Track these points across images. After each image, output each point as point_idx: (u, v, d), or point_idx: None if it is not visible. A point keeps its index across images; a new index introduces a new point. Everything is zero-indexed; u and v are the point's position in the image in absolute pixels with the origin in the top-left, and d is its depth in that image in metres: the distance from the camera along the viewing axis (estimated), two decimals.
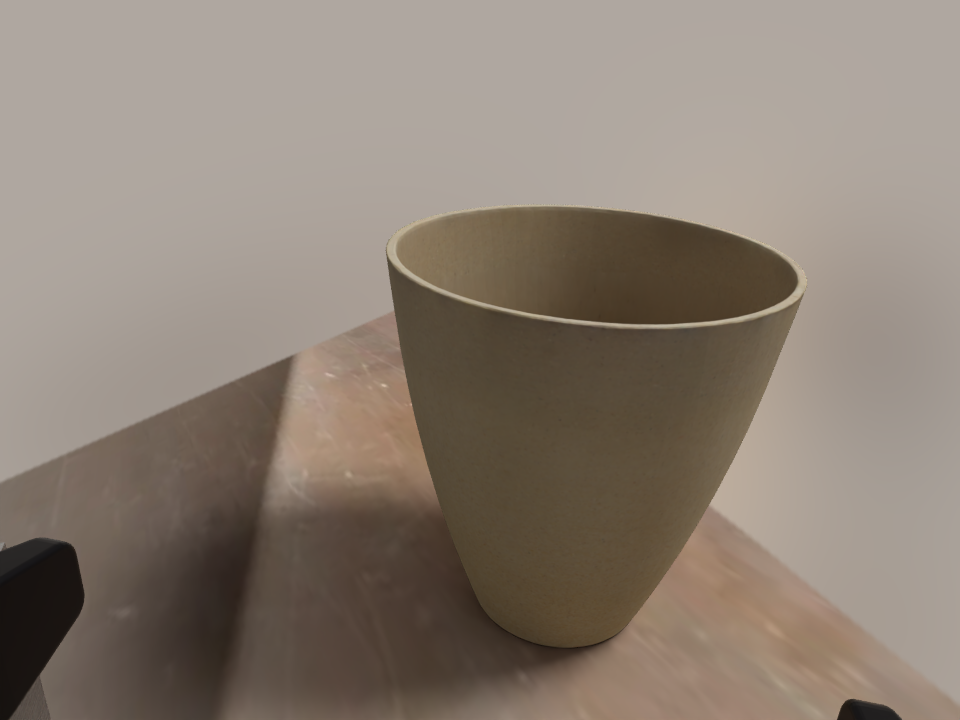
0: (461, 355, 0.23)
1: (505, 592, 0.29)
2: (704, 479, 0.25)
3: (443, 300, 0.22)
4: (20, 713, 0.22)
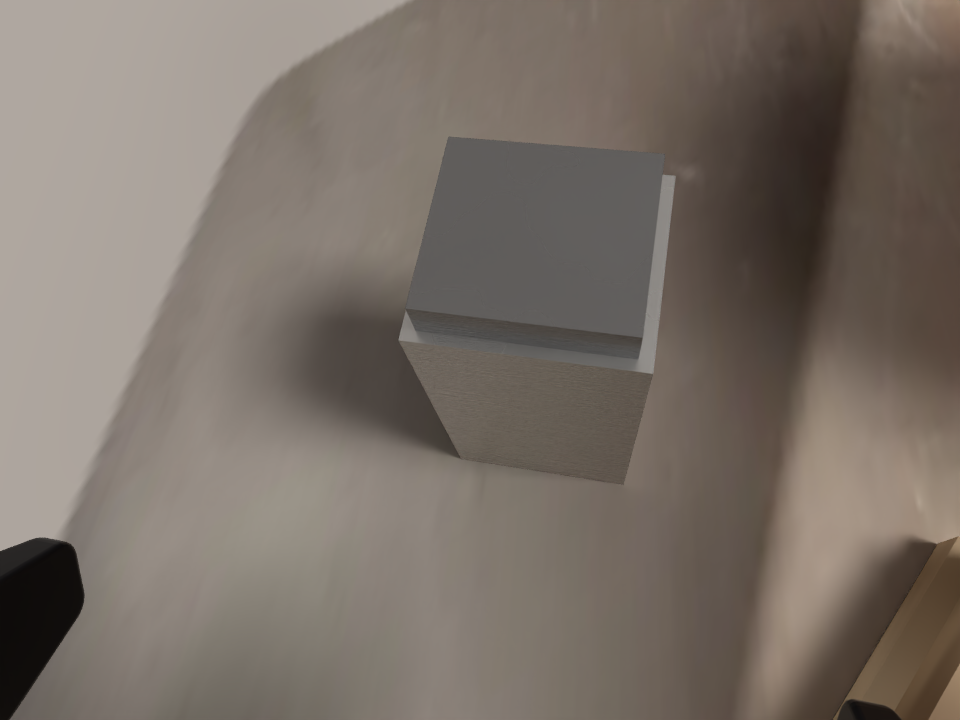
0: None
1: None
2: None
3: None
4: None
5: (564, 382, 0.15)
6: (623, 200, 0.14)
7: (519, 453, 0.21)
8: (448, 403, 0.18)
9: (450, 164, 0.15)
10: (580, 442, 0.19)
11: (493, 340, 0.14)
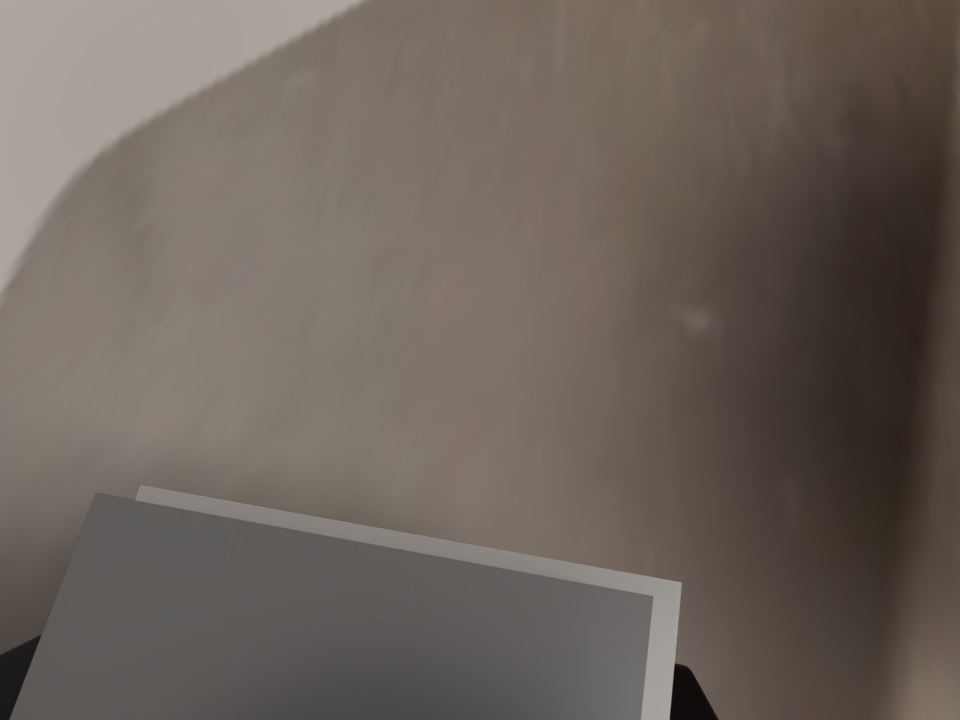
0: None
1: None
2: None
3: None
4: None
5: None
6: None
7: None
8: None
9: (86, 582, 0.06)
10: None
11: None
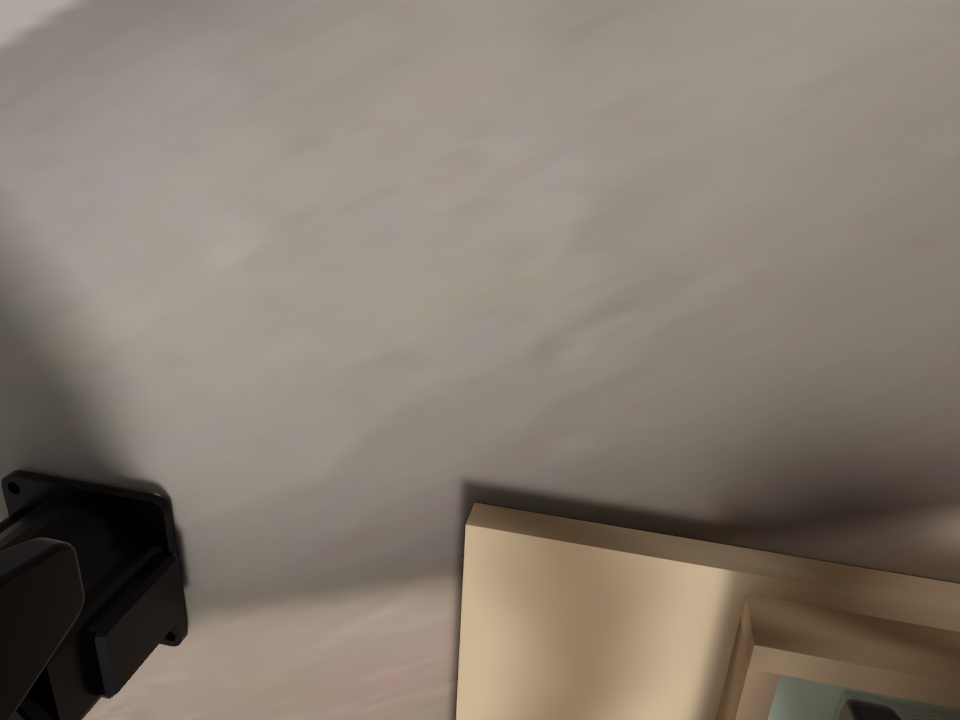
0: None
1: None
2: None
3: None
4: None
5: None
6: None
7: None
8: None
9: None
10: None
11: None
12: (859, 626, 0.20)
